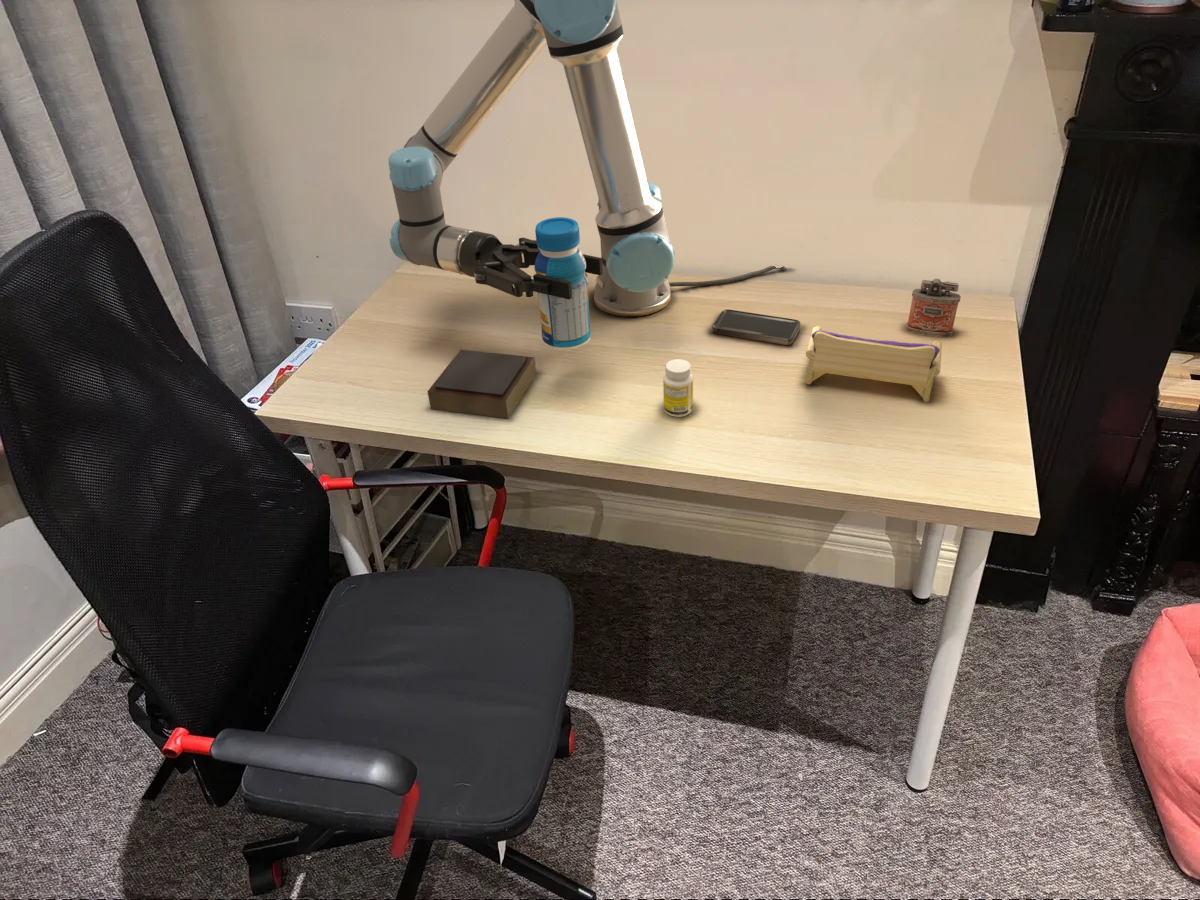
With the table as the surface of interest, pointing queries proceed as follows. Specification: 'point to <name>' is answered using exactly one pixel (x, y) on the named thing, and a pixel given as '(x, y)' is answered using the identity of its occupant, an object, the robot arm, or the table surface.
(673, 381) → the supplement bottle
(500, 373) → the walnut stand
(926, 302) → the lighter
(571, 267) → the beverage bottle
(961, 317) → the table surface
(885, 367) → the toy sofa
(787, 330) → the phone
